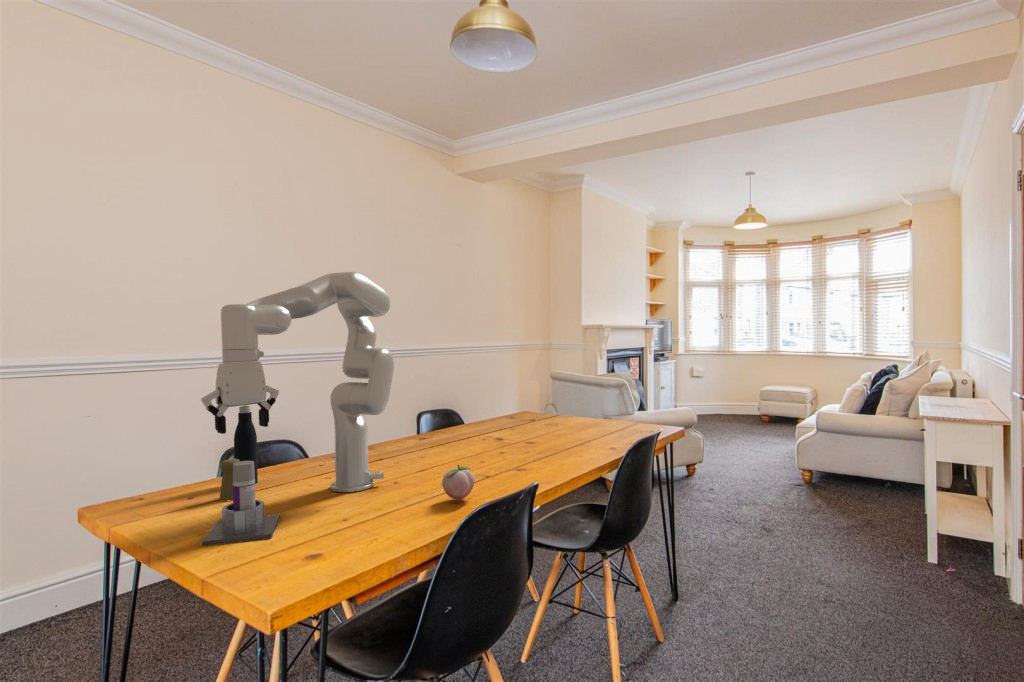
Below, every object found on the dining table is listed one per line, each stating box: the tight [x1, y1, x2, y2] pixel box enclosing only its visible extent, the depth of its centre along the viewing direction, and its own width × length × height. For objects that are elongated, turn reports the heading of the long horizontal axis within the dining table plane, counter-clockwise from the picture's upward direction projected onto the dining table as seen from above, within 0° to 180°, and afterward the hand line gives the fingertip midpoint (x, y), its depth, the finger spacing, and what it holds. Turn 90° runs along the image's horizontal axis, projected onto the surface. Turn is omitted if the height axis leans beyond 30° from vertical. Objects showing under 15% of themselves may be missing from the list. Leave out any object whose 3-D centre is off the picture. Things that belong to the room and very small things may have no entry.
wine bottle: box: [233, 405, 259, 485], centre depth 165 cm, size 6×6×30 cm
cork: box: [219, 458, 240, 501], centre depth 150 cm, size 6×6×11 cm
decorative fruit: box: [441, 464, 476, 502], centre depth 144 cm, size 9×8×10 cm
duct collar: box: [201, 499, 281, 547], centre depth 124 cm, size 14×14×6 cm
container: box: [232, 461, 256, 511], centre depth 124 cm, size 5×5×15 cm
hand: (243, 429), depth 124 cm, fingers open, 9 cm apart
